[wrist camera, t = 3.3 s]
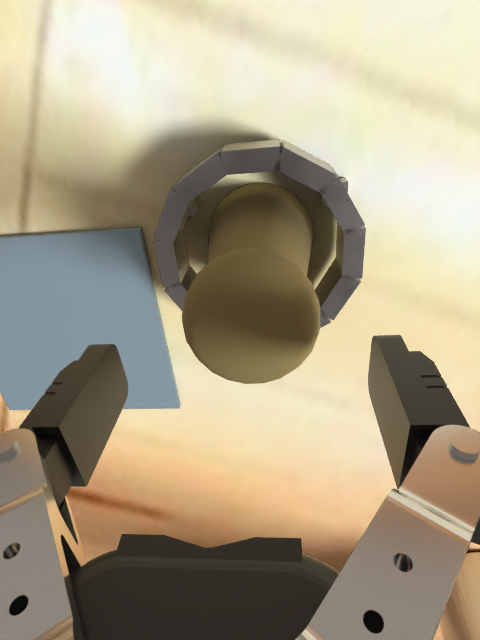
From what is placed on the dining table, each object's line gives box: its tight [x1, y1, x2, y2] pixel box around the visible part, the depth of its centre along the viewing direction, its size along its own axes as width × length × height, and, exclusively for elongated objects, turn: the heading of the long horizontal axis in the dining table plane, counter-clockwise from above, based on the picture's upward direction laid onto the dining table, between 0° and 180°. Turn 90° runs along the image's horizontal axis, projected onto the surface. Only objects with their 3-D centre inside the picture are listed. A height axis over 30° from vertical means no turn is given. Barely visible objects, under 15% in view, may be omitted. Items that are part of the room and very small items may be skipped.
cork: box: [182, 183, 320, 384], centre depth 18 cm, size 6×6×11 cm
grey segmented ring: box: [153, 139, 366, 328], centre depth 21 cm, size 10×10×4 cm
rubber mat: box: [0, 227, 180, 410], centre depth 27 cm, size 14×14×1 cm
